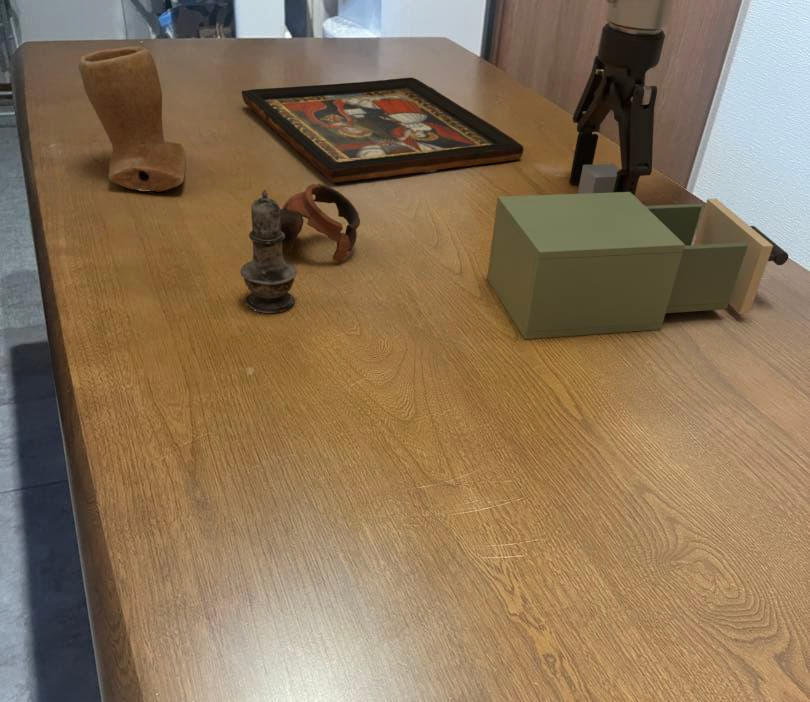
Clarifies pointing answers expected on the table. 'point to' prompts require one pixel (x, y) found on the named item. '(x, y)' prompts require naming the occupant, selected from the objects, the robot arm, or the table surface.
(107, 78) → the clay pipe bowl
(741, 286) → the drawer
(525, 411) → the table surface
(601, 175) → the block
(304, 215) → the broken clay pot
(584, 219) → the cabinet
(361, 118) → the framed icon painting
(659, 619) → the table surface
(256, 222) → the salt shaker
